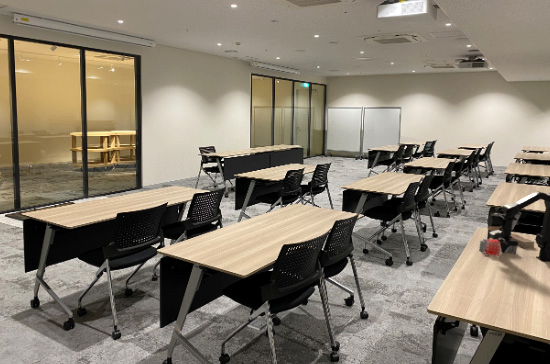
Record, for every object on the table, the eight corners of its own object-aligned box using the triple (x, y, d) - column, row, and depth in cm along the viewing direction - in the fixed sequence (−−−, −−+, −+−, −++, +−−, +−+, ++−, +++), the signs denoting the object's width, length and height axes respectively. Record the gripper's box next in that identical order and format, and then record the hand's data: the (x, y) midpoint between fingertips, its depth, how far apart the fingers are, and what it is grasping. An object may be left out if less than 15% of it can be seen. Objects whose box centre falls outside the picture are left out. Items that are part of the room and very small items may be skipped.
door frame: (516, 253, 259) (517, 243, 258) (480, 252, 260) (482, 241, 258) (514, 252, 262) (515, 242, 260) (479, 250, 262) (480, 240, 261)
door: (512, 253, 258) (513, 243, 257) (482, 249, 263) (483, 239, 262) (511, 252, 261) (512, 242, 260) (481, 248, 266) (483, 238, 265)
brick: (534, 248, 271) (535, 241, 270) (524, 249, 269) (525, 241, 268) (513, 239, 287) (514, 233, 286) (503, 240, 284) (504, 233, 283)
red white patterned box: (499, 256, 253) (500, 243, 251) (484, 253, 258) (486, 240, 256) (502, 253, 259) (504, 240, 257) (488, 249, 264) (490, 237, 262)
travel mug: (497, 241, 281) (502, 212, 277) (500, 245, 274) (504, 215, 270) (485, 240, 283) (489, 211, 279) (487, 243, 276) (491, 214, 272)
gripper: (485, 221, 256) (481, 246, 259) (500, 231, 238) (496, 257, 241) (503, 222, 256) (500, 247, 259) (520, 232, 238) (516, 258, 241)
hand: (502, 252), depth 250 cm, fingers closed
